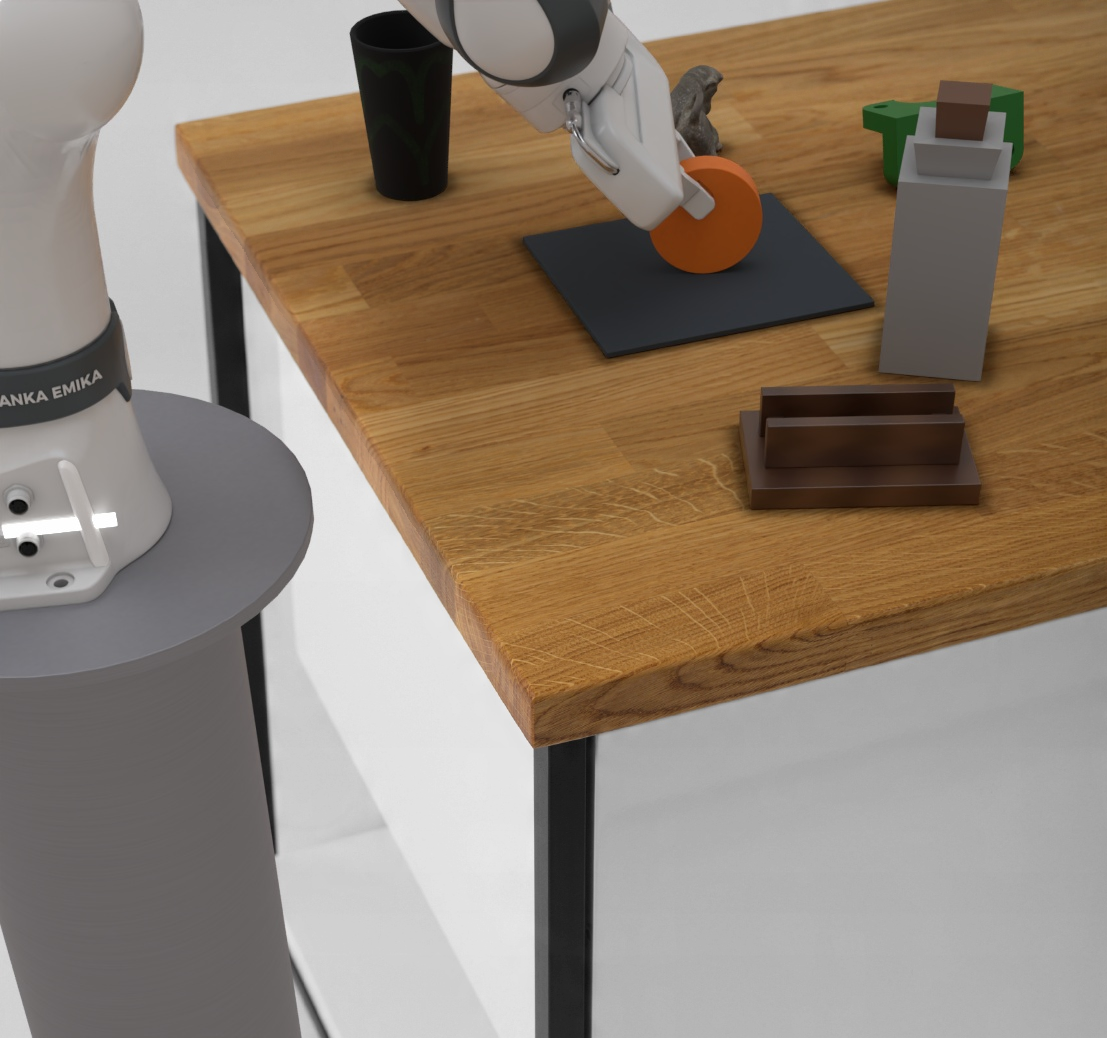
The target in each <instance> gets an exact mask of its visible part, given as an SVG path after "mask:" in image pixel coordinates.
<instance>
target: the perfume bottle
mask: <svg viewBox="0 0 1107 1038" xmlns="http://www.w3.org/2000/svg"><path fill="white" fill-rule="evenodd" d="M992 85H993V83H988V82H975V81H974V82H973V81H959V80H945V79H940V80H939V85H938V91H937V96H936V101H937V103H936V108H933V107H920V112H919V117H918V122H917V128H916V133H915V136H911V135H907V138H906V144H905V149H904V154H903V159H902V164H901V170H900V175H899V180H898V187H897V190H896V198H895V199H896V200H895V207H894V208H895V210H894V218H893V228H892V237H891V238H892V239H891V249H890V255H889V256H890V258H889V267H888V277H887V285H886V296H885V297H886V298H885V304H884V305H885V306H884V314H883V315H884V316H883V324H882V333H881V334H882V335H881V345H880V355H879V363H878V364H879V365H878V373H883V374H892V375H893V374H895V375H905V376H915V377H927V378H937V379H947V380H949V379H950V380H959V381H970V382H981V381H982V374H983V366H984V360H985V353H986V345H987V338H988V333H989V332H988V331H989V326H990V325H989V324H990V318H991V317H990V316H991V309H992V303H993V295H994V289H995V282H996V274H997V269H998V262H999V261H998V260H999V255H1000V247H1001V239H1002V233H1003V226H1004V218H1005V211H1006V206H1007V205H1006V204H1007V197H1008V191H1009V183H1010V182H1009V181H1010V173H1011V172H1010V171H1011V169H1010V164H1011V154H1012V145H1013V143H1007V142H1003V137H1004V128H1005V119H1006V113H1004V112H989V107H990V101H991V93H992Z"/></svg>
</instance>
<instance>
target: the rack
mask: <svg viewBox="0 0 1107 1038" xmlns="http://www.w3.org/2000/svg"><path fill="white" fill-rule="evenodd" d="M759 395H760V396H759V397H760V398H759V410H757V409H756V410H754V409H752V410H751V409H750V410H740V411H739V417H738V435H739V441H740V447H741V453H742V454H741V455H742V461H743V467H744V474H745V481H746V487H747V494H748V501H749V507H750V510H774V509H775V510H776V509H781V510H782V509H819V508H820V509H823V508H824V509H825V508H864V507H865V508H866V507H868V508H870V507H871V508H872V507H873V508H874V507H910V506H911V507H913V506H914V507H915V506H916V507H917V506H919V507H920V506H961V505H963V506H964V505H979V504H980V497H981V491H982V490H981V489H982V482H981V478H980V474H979V471H978V468H977V464H976V461H975V459H974V455H973V452H972V448H971V445H970V441H969V438H968V434H967V431H966V429H965V425H966V422H965V418H964V414H963V413H961V412H960V408H959V406H958V405H955V402H956V401H955V400H956V388H955V384H954V383H953V382H941V383H940V382H936V383H932V382H931V383H893V384H890V383H889V384H848V385H846V384H844V385H843V384H842V385H840V384H839V385H800V386H799V385H795V386H793V385H792V386H761V387H760V394H759Z"/></svg>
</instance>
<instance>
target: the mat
mask: <svg viewBox="0 0 1107 1038" xmlns="http://www.w3.org/2000/svg"><path fill="white" fill-rule="evenodd" d="M759 197H760V202H761V208H762V227H761V231H760V235H759V237H758V239H757V241H756V243H755V245H754V247H753V248H752V249H751V250H750V252H749V253H748V254H747V255H746V256H745V257H744V258H743V259H742V260H740V261H739V262H738V263H736V264H735V265H733V266H731V267H729V268H727V269H725V270H721V271H718V272H714V273H705V274H700V273H691V272H687V271H684V270H681V269H679V268H676V267H675V266H673V265H671V264H670V263H668V262H667V261H666V260H665V259H664V258H663V257H662V256H661V255H660V254H659V253H658V251H657V250H656V248H655V246H654V244H653V242H652V239H651V237H650V232H649V231H646V230H643V229H641V228H639V227H637V226H635V225H634V224H633V223H632V222H631V221H630V220H628V219H627V218H626V217H625V218H620V219H614V220H609V221H603V222H598V223H597V222H596V223H592V224H587V225H581V226H575V227H569V228H564V229H559V230H553V231H548V232H547V231H546V232H542V233H536V234H531V235H526V236H525V235H524V236H522V238H521V239H522V243H523V244H524V245H525V247H526V248H527V250H528V252H530V254H531V255H532V257H533V258H534V259H535V260H536V261H535V262H537V263H538V265H539V266H540V268H541V269H542V271H543V272H544V273H545V274H546V276H547V277H548V279H549V280H550V281H551V283H552V284H553V285H554V287H555V288H556V290H557V291H558V292H559V294H560V296H562V298H563V299H564V300H565V303H567V306H568V307H570V309H571V311H572V312H573V313H574V314H575V316H576V318H577V319H578V320H579V321H580V323H581V324H582V326H583V327H584V328H585V329H586V331H587V332H588V334H589V335H590V336H591V338H592V339H593V341H594V342H595V344H596V345H597V346H598V348H599V349H600V351H601V352H602V353H603V354H604V356H605V358H607V359H610V358H614V357H621V356H625V355H630V354H635V353H636V354H637V353H640V352H645V351H651V350H656V349H661V348H665V347H671V346H672V347H673V346H676V345H683V344H686V343H693V342H697V341H703V340H707V339H713V338H718V337H722V336H723V337H724V336H728V335H732V334H738V333H743V332H748V331H754V330H759V329H763V328H770V327H774V326H781V325H784V324H790V323H794V322H800V321H805V320H811V319H816V318H822V317H827V316H831V315H835V314H842V313H847V312H852V311H857V310H861V309H867V308H873V307H875V303H876V302H875V300H874V299H873V298H872V297H871V296H870V294H869V293H867V291H865V290H864V289H863V287H862V286H861V285H860V284H859V283H858V282H857V281H856V280H855V279H854V278H853V277H852V276H851V275H850V274H849V273H848V272H847V271H846V270H845V269H844V267H843V266H842V265H841V264H840V263H839V262H838V261H837V260H836V259H835V258H834V257H833V256H832V255H831V254H830V252H828V251H827V250H826V248H824V247H823V246H822V245H821V243H820V242H819V241H818V240H817V239H816V238H815V237H814V236H813V235H812V234H811V232H809V230H807V229H806V228H805V226H804V225H803V224H802V223H801V222H800V221H799V220H798V219H797V218H796V217H795V215H793V214H792V213H791V211H789V210H788V208H787V207H786V206H785V205H784V204H783V203H782V202H781V201H780V200H779V199H778V198H777V197H776V196H775V195H774V194H773V193H772V192H766V193H759Z"/></svg>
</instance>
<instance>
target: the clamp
mask: <svg viewBox="0 0 1107 1038" xmlns="http://www.w3.org/2000/svg"><path fill="white" fill-rule="evenodd" d="M992 84H993V83H992ZM936 103H937V100H932V101H931V100H930V101H918V102H905V101H904V102H903V101H898V100H895V99H890V100H885V101H880V102H876V103H871V104H867V105H864V106H863V107H862V110H861V111H862V128H863V129H865V130H868V131H872V132H876V133H879V134H881V136H882V163H883V166H882V167H883V176H884V179H885V181H886V182H887V183H888V184H889V185H890V186H892V187H894V188H895V187H896V188H898V180H899V175H900V170H901V164H902V159H903V154H904V149H905V144H906V138H907V135H911V136H915V133H916V128H917V122H918V117H919V112H920V107H933V108H936ZM1024 105H1025V91H1024V90H1020V89H1016V88H1011V87H1007V86H1003V85H999V84H998V85H997V84H993V85H992V93H991V101H990V107H989V112H1004V113H1006V119H1005V128H1004V137H1003V142H1007V143H1013V145H1012V154H1011V164H1010V170H1012V169H1014V168H1015V167H1016V166H1017V165H1018V164H1019V163H1020V161H1022V158H1023V155H1024V150H1025V106H1024Z"/></svg>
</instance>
